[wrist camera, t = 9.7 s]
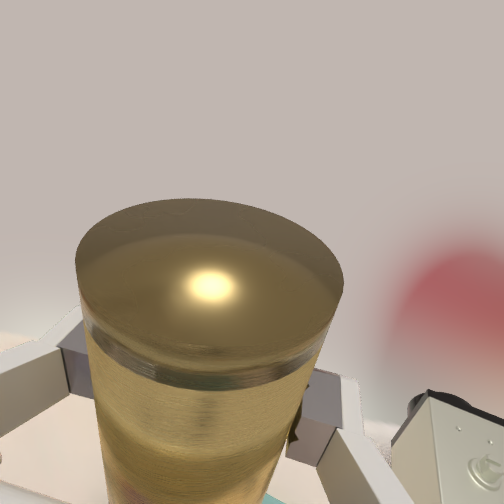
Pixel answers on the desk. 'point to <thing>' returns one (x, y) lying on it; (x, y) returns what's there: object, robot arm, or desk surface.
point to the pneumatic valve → (449, 452)
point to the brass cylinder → (200, 344)
